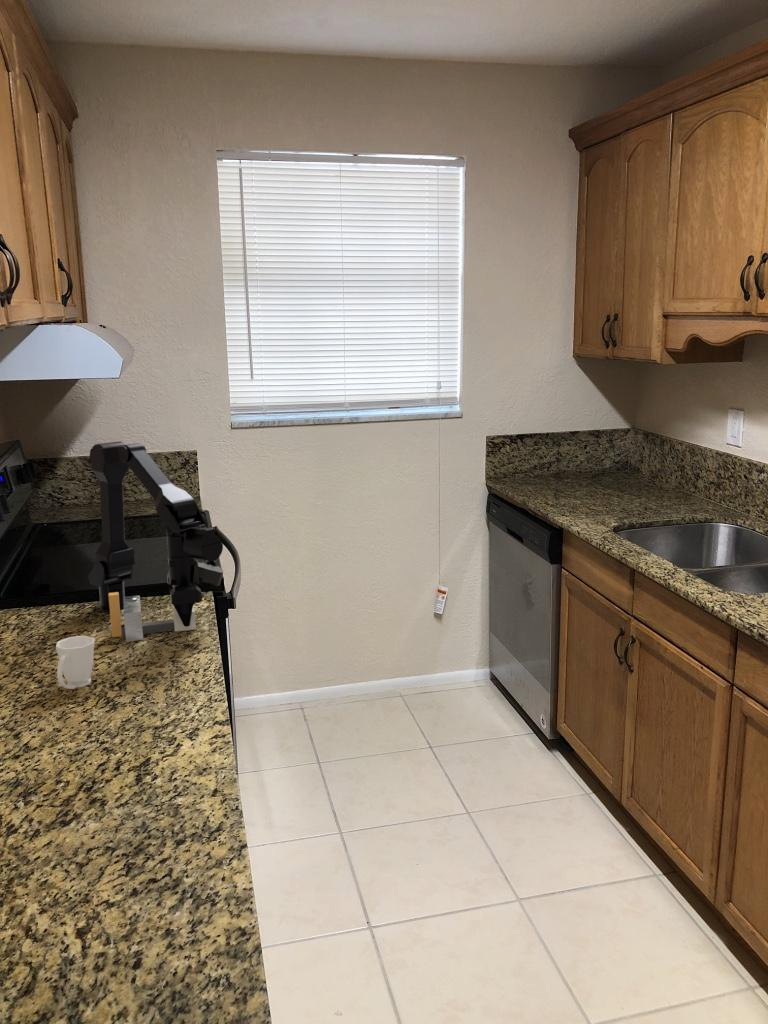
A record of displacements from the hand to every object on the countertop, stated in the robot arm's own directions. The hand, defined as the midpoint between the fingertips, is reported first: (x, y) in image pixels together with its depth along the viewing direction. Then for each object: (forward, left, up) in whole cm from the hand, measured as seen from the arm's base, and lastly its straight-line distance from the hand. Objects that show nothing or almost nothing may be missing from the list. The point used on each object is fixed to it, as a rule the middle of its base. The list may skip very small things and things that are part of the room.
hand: (186, 622), depth 181 cm
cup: (+16, -29, -1) cm, 34 cm away
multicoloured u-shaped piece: (-2, -6, -1) cm, 7 cm away
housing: (-6, -10, -1) cm, 11 cm away
